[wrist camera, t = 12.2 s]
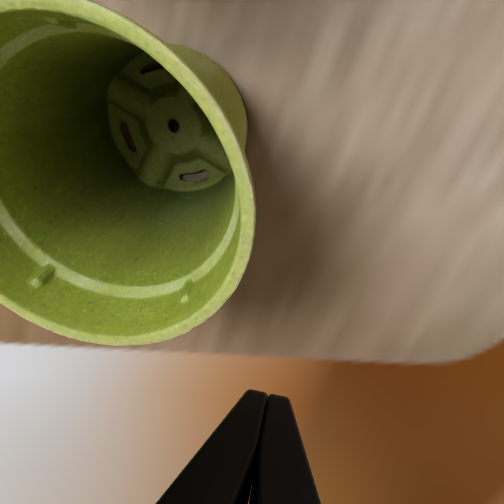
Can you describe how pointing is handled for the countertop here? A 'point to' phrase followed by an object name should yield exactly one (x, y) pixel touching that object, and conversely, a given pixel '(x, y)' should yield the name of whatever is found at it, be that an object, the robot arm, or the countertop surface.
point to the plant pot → (116, 177)
